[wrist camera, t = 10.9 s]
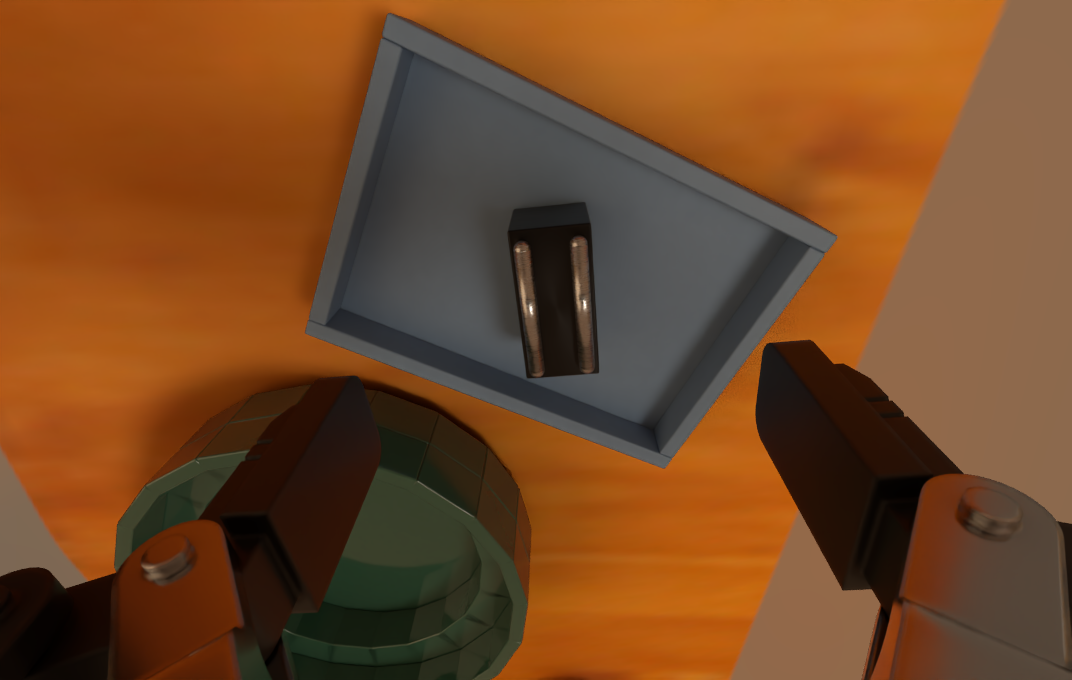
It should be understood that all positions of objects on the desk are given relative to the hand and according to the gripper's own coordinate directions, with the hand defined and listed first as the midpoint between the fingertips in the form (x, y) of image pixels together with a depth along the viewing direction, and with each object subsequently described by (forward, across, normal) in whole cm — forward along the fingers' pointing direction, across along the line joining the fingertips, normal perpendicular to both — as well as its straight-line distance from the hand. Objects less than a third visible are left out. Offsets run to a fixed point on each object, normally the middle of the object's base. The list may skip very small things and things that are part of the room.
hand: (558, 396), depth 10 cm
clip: (+8, 0, +1) cm, 8 cm away
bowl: (+8, +10, +12) cm, 18 cm away
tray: (+9, 0, +1) cm, 9 cm away
